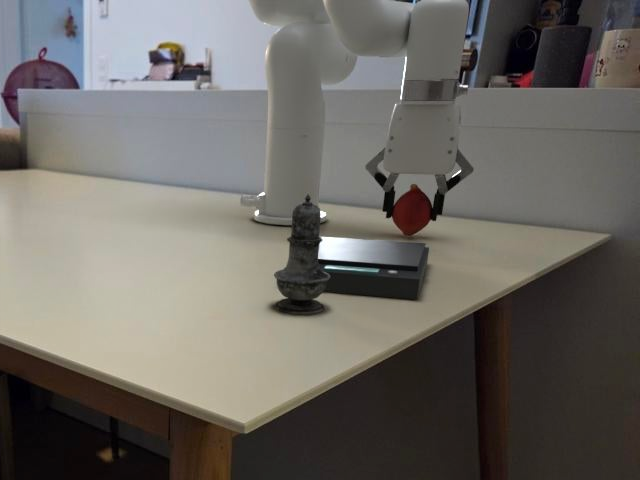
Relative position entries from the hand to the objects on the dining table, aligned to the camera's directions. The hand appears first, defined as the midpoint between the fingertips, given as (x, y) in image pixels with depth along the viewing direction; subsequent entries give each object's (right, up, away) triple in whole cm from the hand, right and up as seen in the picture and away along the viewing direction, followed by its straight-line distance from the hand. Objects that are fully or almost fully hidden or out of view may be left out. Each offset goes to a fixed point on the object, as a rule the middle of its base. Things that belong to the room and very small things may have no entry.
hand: (411, 217), depth 113 cm
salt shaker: (-25, -18, -34) cm, 46 cm away
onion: (0, -3, +1) cm, 3 cm away
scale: (-15, -12, -22) cm, 29 cm away
